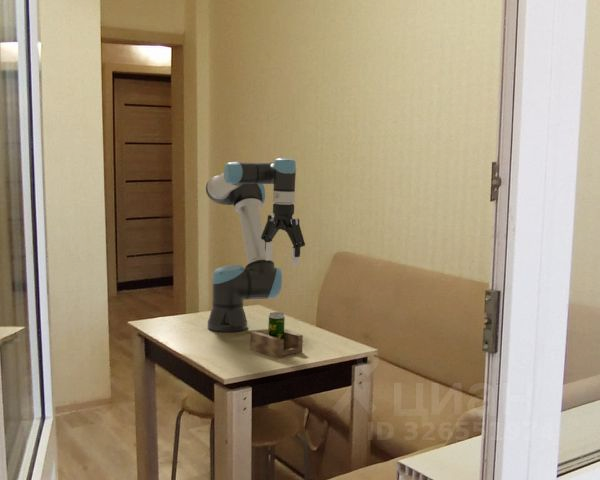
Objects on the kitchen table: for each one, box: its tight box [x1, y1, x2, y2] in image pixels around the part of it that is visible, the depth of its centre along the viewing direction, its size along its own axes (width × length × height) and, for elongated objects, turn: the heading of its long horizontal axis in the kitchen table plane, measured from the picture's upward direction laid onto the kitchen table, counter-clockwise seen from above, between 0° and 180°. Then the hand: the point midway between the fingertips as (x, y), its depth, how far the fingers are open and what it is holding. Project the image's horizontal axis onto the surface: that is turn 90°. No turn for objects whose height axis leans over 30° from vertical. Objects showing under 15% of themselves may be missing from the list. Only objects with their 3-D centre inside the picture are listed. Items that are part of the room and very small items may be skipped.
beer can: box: [267, 311, 286, 340], centre depth 231 cm, size 5×5×12 cm
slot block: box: [249, 329, 304, 360], centre depth 232 cm, size 14×11×6 cm
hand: (281, 263), depth 243 cm, fingers open, 13 cm apart
